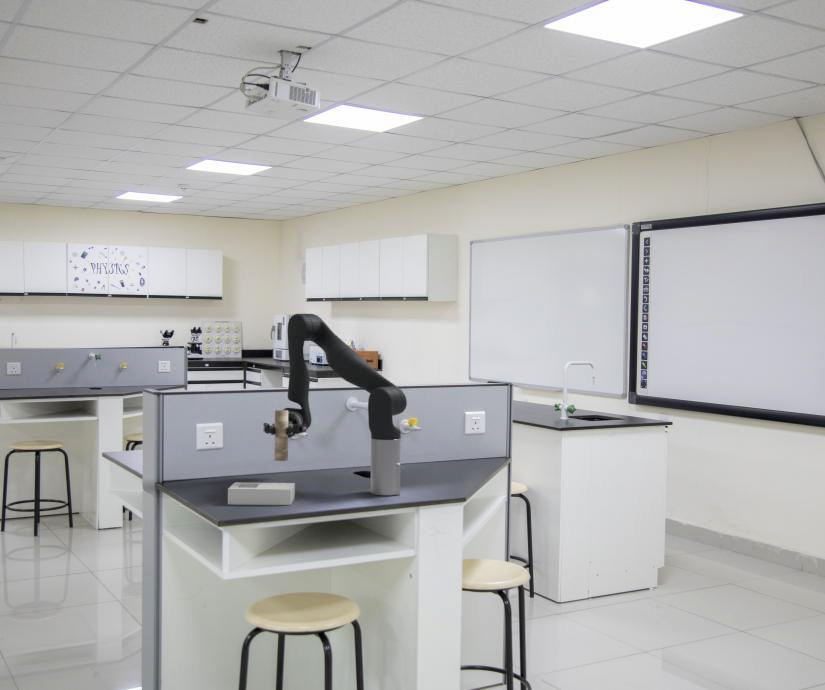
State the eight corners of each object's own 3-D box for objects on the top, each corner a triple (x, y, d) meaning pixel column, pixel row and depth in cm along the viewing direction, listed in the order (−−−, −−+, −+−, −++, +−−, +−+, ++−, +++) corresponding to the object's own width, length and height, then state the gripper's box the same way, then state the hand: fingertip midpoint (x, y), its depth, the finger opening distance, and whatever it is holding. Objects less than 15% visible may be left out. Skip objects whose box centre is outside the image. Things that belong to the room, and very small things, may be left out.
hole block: (294, 498, 253) (294, 483, 253) (290, 505, 243) (290, 489, 243) (234, 497, 253) (234, 482, 253) (227, 504, 243) (227, 488, 243)
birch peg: (288, 458, 259) (289, 410, 258) (286, 461, 255) (287, 411, 254) (275, 458, 259) (276, 409, 258) (273, 460, 255) (274, 411, 254)
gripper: (266, 412, 271) (256, 418, 253) (310, 413, 270) (303, 419, 253) (266, 435, 271) (256, 443, 254) (310, 436, 271) (303, 444, 254)
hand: (280, 431), depth 254 cm, fingers closed on birch peg, 4 cm apart
